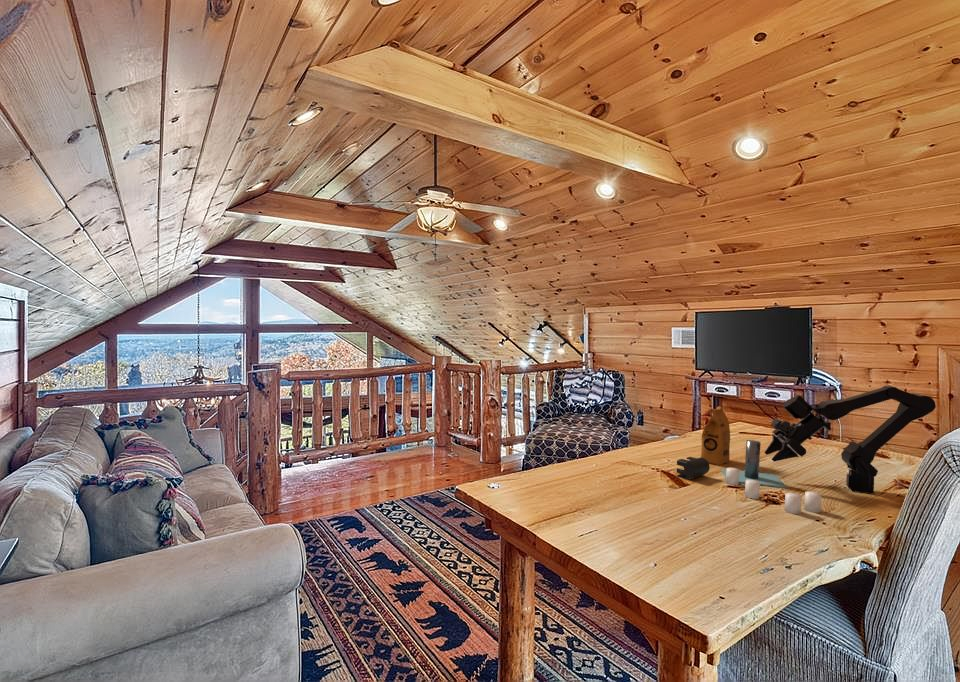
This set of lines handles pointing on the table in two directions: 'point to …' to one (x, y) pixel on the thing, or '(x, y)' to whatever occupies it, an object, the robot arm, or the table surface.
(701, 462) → the end cap
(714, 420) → the coffee package
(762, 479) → the mat
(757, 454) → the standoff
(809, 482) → the table surface
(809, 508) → the spacers
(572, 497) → the table surface
